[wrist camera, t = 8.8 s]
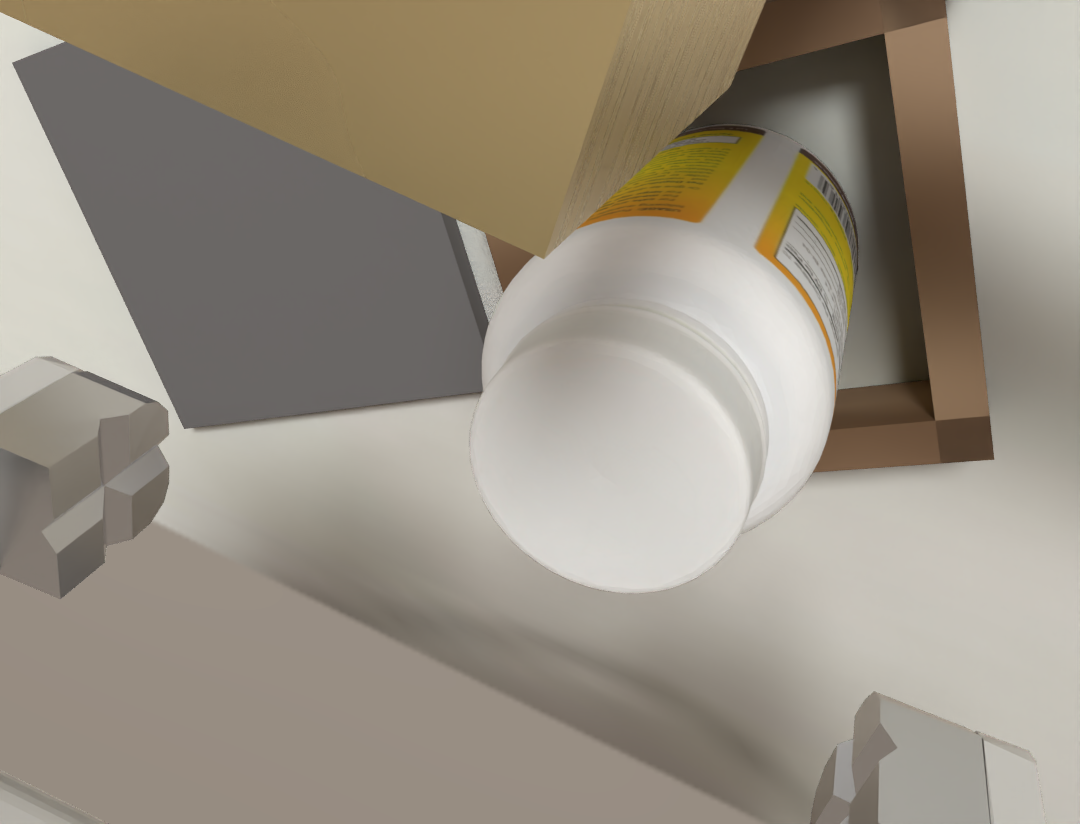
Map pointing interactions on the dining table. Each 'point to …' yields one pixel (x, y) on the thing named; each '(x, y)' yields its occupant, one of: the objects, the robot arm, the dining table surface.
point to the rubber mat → (256, 254)
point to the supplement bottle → (669, 363)
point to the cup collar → (935, 225)
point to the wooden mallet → (440, 87)
